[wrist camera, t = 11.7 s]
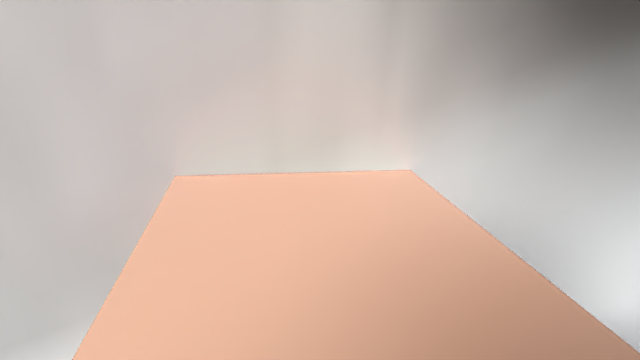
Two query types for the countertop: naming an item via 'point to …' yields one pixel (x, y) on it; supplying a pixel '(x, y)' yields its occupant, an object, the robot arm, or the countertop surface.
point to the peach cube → (332, 279)
